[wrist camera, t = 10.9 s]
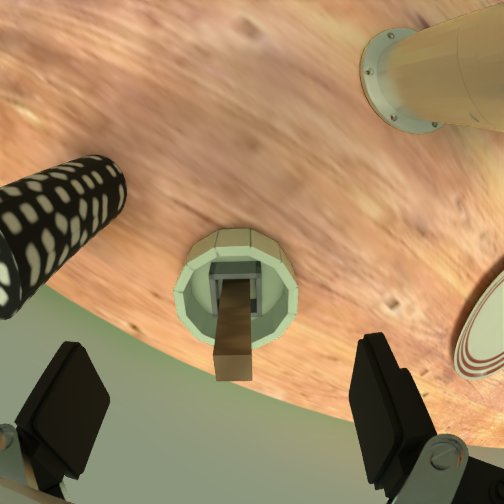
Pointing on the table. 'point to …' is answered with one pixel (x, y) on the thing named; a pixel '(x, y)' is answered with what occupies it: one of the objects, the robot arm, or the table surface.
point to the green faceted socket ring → (237, 267)
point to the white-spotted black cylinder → (52, 222)
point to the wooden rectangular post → (233, 332)
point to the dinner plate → (483, 335)
